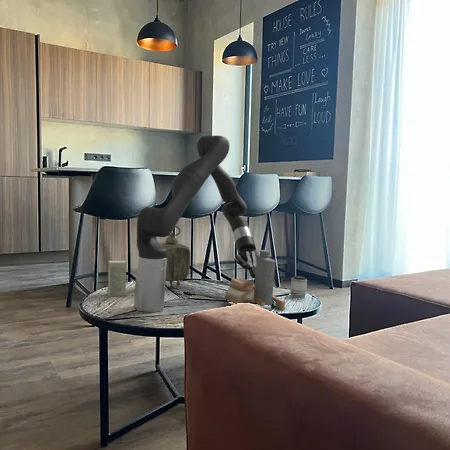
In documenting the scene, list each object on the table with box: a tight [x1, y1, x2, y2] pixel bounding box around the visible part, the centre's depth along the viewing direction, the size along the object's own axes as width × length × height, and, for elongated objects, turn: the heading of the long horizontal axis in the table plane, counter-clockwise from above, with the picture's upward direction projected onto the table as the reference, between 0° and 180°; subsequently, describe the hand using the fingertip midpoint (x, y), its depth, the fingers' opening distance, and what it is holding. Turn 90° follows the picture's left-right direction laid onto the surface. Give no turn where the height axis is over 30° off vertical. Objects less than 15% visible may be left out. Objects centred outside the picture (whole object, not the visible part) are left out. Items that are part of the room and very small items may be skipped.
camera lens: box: [290, 275, 308, 299], centre depth 181 cm, size 6×6×8 cm
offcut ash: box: [227, 286, 254, 301], centre depth 162 cm, size 6×8×3 cm
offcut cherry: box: [230, 278, 254, 292], centre depth 161 cm, size 5×7×3 cm
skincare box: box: [107, 260, 127, 297], centre depth 162 cm, size 6×4×12 cm
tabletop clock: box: [159, 225, 191, 290], centre depth 177 cm, size 14×9×25 cm, turn 122°
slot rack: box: [229, 283, 286, 311], centre depth 170 cm, size 10×28×3 cm, turn 22°
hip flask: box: [254, 249, 276, 306], centre depth 163 cm, size 16×4×20 cm, turn 11°
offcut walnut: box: [225, 293, 255, 304], centre depth 162 cm, size 7×9×3 cm
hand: (255, 277), depth 171 cm, fingers closed
